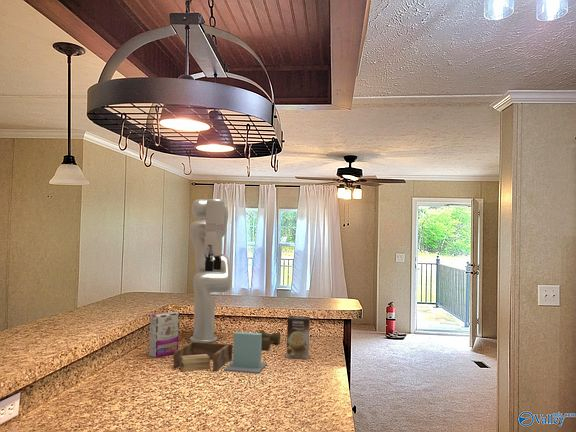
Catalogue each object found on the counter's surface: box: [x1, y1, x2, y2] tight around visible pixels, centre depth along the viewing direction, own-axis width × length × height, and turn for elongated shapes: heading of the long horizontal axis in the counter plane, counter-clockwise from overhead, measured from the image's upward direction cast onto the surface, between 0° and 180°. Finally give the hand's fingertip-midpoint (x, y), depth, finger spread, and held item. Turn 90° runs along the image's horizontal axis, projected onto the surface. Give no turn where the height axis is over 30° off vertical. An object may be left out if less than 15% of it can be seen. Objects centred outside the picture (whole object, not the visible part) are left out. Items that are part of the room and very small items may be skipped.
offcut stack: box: [179, 354, 211, 372], centre depth 167 cm, size 5×10×4 cm, turn 113°
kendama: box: [259, 329, 281, 351], centre depth 207 cm, size 6×10×20 cm
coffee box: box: [285, 315, 311, 360], centre depth 188 cm, size 9×6×16 cm
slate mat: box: [223, 361, 268, 375], centre depth 170 cm, size 12×13×1 cm
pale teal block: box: [232, 331, 262, 368], centre depth 170 cm, size 3×10×12 cm, turn 80°
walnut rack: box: [173, 340, 233, 372], centre depth 173 cm, size 16×18×6 cm
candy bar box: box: [148, 311, 180, 359], centre depth 186 cm, size 11×5×16 cm, turn 143°
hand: (213, 270), depth 188 cm, fingers open, 9 cm apart
